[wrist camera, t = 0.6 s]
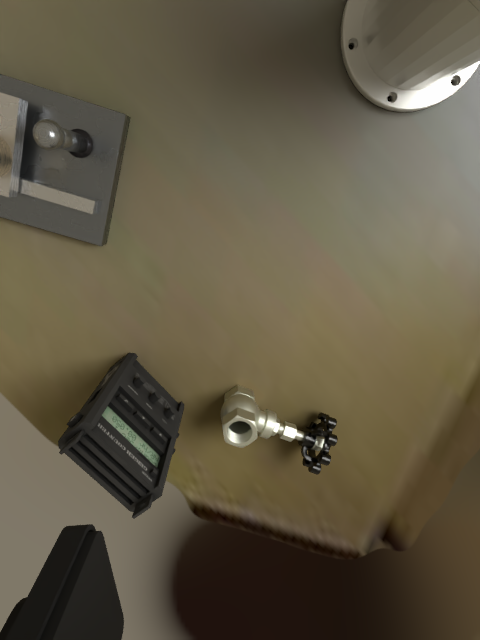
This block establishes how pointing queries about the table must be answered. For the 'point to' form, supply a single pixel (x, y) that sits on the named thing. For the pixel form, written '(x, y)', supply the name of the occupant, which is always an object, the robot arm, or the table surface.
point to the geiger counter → (126, 435)
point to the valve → (274, 428)
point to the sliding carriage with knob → (11, 142)
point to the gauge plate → (66, 163)
